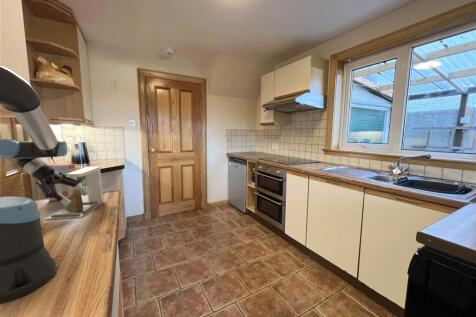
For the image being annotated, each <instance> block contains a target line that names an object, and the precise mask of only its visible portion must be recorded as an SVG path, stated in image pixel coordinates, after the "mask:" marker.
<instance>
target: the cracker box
mask: <svg viewBox="0 0 476 317" xmlns="http://www.w3.org/2000/svg"><path fill="white" fill-rule="evenodd" d="M47 165H49V166H50V167H52V168H53V169H54V173H55V174H59V173H60V172H61V173H63V174H64V175H66V174H68V173H71V172H74V171H77V168H76V163H49V164H48V163H47ZM71 178H73V179H75V180H78V177H71ZM60 180H61V179H60ZM55 187H56V191H57V194H58V193H61V194H62V195H63V196H65V197H66V198H67V199H70V197H71V195H72V193H73V192H74V190H75V189H74V187H72V186H68V185H65V184H55ZM48 194H49V193H48ZM48 201H49V202H59V201H58V200H56V199H55V198H54V197H53V198H52V199H51V198H48Z"/></svg>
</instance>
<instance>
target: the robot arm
mask: <svg viewBox="0 0 476 317" xmlns="http://www.w3.org/2000/svg"><path fill="white" fill-rule="evenodd" d="M41 104H42V100H41V98H40V96H39V94H38V93H37V91H36V90H35V88H34V87H33V86H32V85H31V84H30V83H29V82H28V81H26V79H24V78H23V77H21V76H20V75H18V74H16V72H14V71H12V70H10V69H8V68H6V67H5V66H2V65H0V105H1V106H2V107H3V109H5V110H7V111H8V112H11V113H12V115H13V116H14V118H16V120H17V122H18V123H19V125H20V126H21V127H22V129H23V130H24V131H25V133H26V134H27V135H28V137H29V138H30V140H23V141H22V140H21V141H17V140H14V139H10V138H2V139H0V158H3V159H5V160H8V161H10V162H11V163H13V164H14V165H16V166H18V167H19V168H21V169H22V170H23V171H25V172H26V173H28V174H29V175H30V176H32V177H33V178H34V179H35V180H36V182H35V184H36V185H38V186H39V187H40V189H41V192H43V195H44V196H45V197H46V198H48V199H49V198H51V199H52V198H53V197H54V198H55V199H56V200H58V201H57V202H60V203H61V204H63V205H64V206H65V207H66V206H68V205H69V204H70V203H71V201H70V200H69V199H67V198H66V197H65V196H63V195H62V194H61V193H58V194H57V191H56V187H55V184H65V185H68V186H72V187H74V189H77V190H80V193H81V196H83V197H85V196H87V195H88V191H87V189H85V188H84V187H82V186H81V185H80V180H78V179H77V180H75V179H73V178H71V177H66V175H64V174H63V173H61V172H60V173H59V174H55V173H54V169H53V168H52V167H50V166H49V165H48V163H46V162H45V161H44V160H43V159H44V158H58V157H65V156H67V155H68V144H67V142H66V141H65V140H62V139H58V138H57V136H56V135H55V132H54V131H53V129H52V127H51V125H50V123H49V122H48V119H47V117H46V115H45V113H44V112H43V110H42V108H41ZM41 158H43V159H41ZM60 179H61V180H60ZM48 193H49V194H48ZM41 222H42V221H41V213H40V211H39V208H38V204H37V202H36V200H34V199H32V198H29V197H25V196H0V305H2V304H5V303H9V302H12V301H15V300H17V299H19V298H22V297H23V296H27V295H28V294H30V293H33V292H34V291H36V290H38V289H39V288H41V287H42V286H44V285H45V284H46V283H47V282H49V281H50V280H51V279H52V278H53V277H54V276H55V275H56V272H57V265H56V260H55V259H54V258H53V257H52V256H51V254H50V252H48V250H47V248H46V247H45V242H44V236H43V235H44V234H43V229H42V224H41Z"/></svg>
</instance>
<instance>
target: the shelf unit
mask: <svg viewBox="0 0 476 317" xmlns="http://www.w3.org/2000/svg"><path fill="white" fill-rule="evenodd" d="M101 169H102V168H101V166H86V167H82V168H80V169H78V170H77V169H76V171H74V172H71V173H68V174H66V177H77V178H81V177H85V181H86V182H85V183H86V191H88V193H87V198H88V201H82V202H83V211H81V212H72V211H67V210H66V209H65V208H66V206H65V207H63V208H62V209H59V210H57V211H56V212H54V213H52V214H51V215H49V216H47V217H46V218H44V221H48V220H64V219H68V220H69V219H81V218H83V217H84V216H86V215H87V214H89V213H90V212H91V211H93V210H94V209H96V208H97V207H98V206H100V205H101V204H102V203H104V201H105V200H104V192H103V182H102V173H101V172H102V171H101Z"/></svg>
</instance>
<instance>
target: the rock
mask: <svg viewBox="0 0 476 317" xmlns="http://www.w3.org/2000/svg"><path fill="white" fill-rule="evenodd" d="M82 196H83V195H82V194H81V193H80V190H77V189H75V190H74V192H73V193H72V195H71V197H70V199H69V200H70V201H71V203H70V204H69V205H68V206H65V207H66V208H65V207H64V208H65V209H66V210H67V211H72V212H81V211H83V202H84V201H83V198H82Z"/></svg>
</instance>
